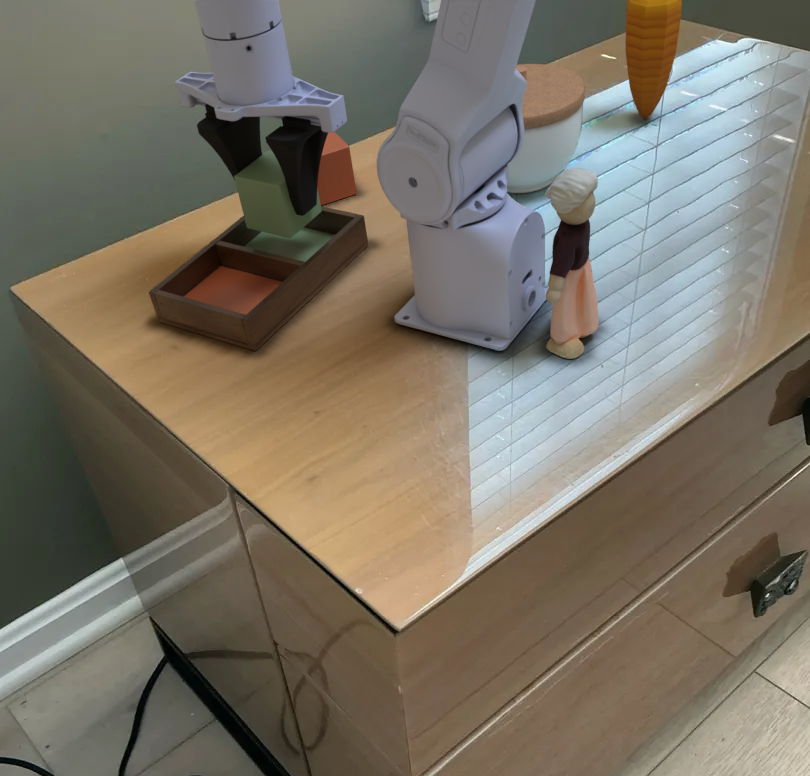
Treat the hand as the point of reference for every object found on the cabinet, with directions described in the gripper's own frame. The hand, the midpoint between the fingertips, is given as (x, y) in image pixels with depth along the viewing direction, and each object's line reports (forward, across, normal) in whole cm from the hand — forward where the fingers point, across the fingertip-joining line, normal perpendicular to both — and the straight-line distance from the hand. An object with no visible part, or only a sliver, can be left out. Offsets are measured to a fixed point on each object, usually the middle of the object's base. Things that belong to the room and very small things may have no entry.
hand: (281, 203), depth 77 cm
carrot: (+5, +18, +33) cm, 38 cm away
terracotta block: (+5, -4, +11) cm, 12 cm away
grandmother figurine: (+5, +26, -1) cm, 27 cm away
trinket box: (+5, +12, +19) cm, 23 cm away
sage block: (+1, 0, 0) cm, 1 cm away
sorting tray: (+5, 0, -4) cm, 6 cm away
